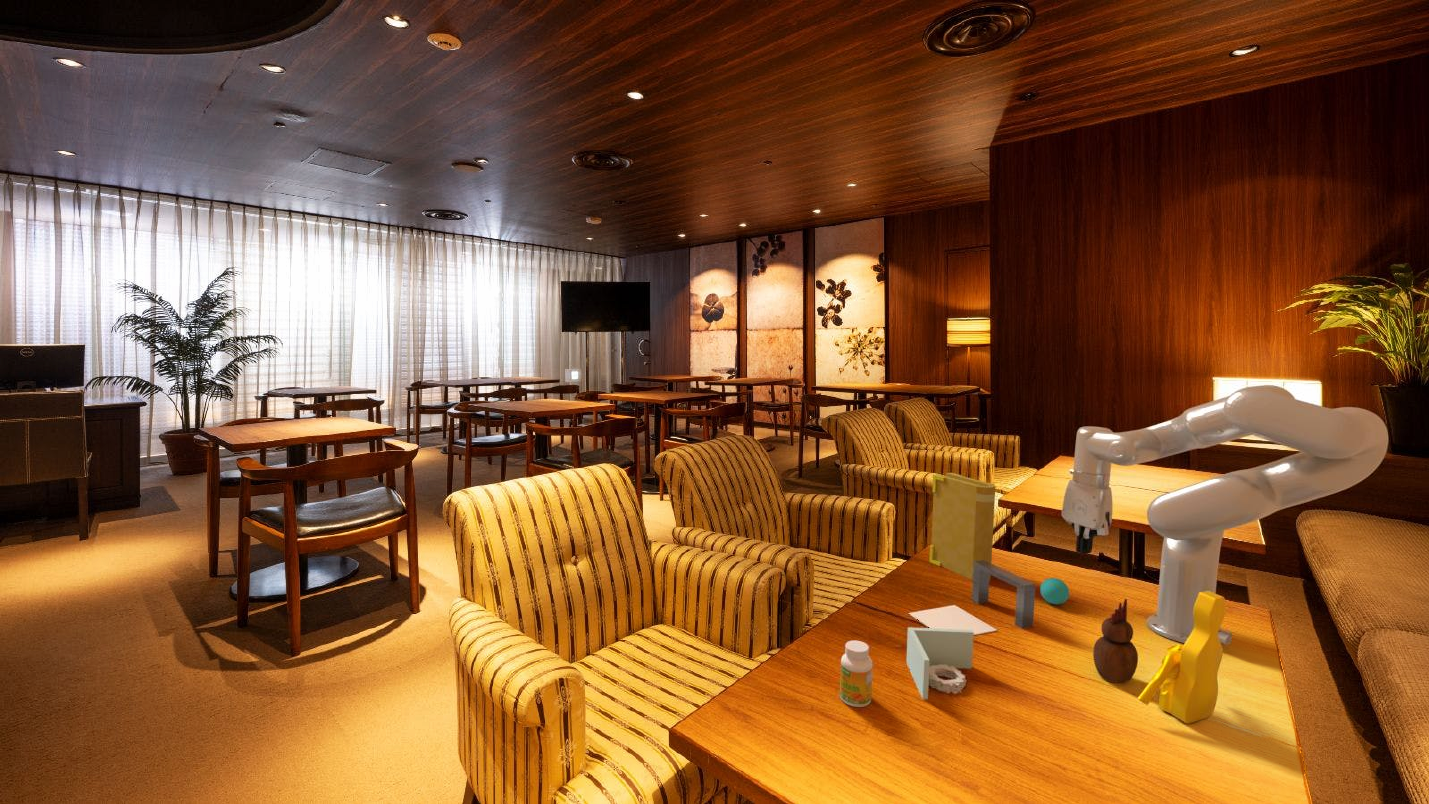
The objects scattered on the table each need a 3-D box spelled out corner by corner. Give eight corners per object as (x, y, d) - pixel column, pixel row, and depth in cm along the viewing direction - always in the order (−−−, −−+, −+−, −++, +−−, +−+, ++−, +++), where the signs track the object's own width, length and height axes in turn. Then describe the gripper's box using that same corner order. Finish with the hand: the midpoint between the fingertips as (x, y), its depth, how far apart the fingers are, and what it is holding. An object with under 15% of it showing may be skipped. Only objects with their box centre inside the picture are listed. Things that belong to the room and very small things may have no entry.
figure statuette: (1195, 691, 109) (1206, 573, 106) (1246, 717, 101) (1259, 590, 99) (1125, 712, 102) (1135, 586, 100) (1173, 741, 95) (1185, 606, 93)
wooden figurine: (1120, 669, 116) (1126, 593, 114) (1142, 686, 110) (1149, 607, 108) (1085, 669, 116) (1091, 594, 114) (1106, 687, 110) (1112, 607, 108)
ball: (1074, 606, 143) (1076, 582, 142) (1055, 610, 141) (1056, 585, 140) (1052, 596, 148) (1054, 572, 148) (1033, 599, 146) (1035, 575, 146)
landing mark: (996, 630, 131) (997, 630, 131) (947, 640, 126) (947, 639, 126) (954, 605, 143) (954, 605, 143) (908, 613, 139) (908, 613, 139)
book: (929, 561, 171) (933, 474, 169) (947, 558, 174) (951, 472, 172) (977, 583, 156) (982, 488, 154) (996, 579, 159) (1001, 485, 156)
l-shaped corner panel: (922, 700, 106) (924, 660, 105) (906, 664, 118) (907, 627, 117) (993, 704, 105) (995, 663, 104) (969, 667, 117) (971, 629, 116)
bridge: (981, 598, 147) (983, 560, 146) (1032, 626, 133) (1035, 583, 132) (971, 600, 146) (973, 561, 145) (1022, 628, 132) (1024, 585, 131)
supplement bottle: (834, 700, 106) (835, 647, 105) (848, 686, 110) (849, 635, 109) (863, 712, 102) (865, 657, 101) (876, 697, 106) (878, 644, 105)
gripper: (1052, 472, 151) (1045, 543, 153) (1108, 487, 137) (1100, 565, 139) (1074, 470, 153) (1068, 540, 155) (1132, 485, 139) (1124, 562, 141)
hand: (1083, 552), depth 147 cm, fingers closed
